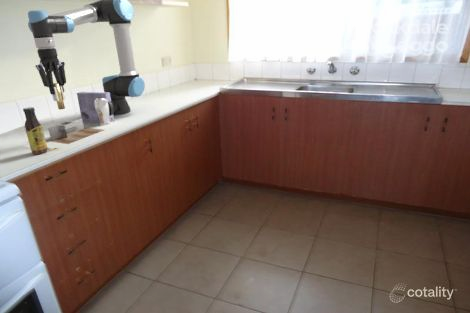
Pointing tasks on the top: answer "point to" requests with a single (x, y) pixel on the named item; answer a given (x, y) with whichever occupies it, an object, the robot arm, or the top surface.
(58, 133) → the grey rectangular block
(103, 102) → the beer glass
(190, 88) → the top surface
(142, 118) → the top surface
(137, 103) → the top surface
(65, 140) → the walnut board
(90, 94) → the cake pan box
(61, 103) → the hinge pin
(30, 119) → the sauce bottle
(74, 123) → the grey block
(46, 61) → the robot arm
